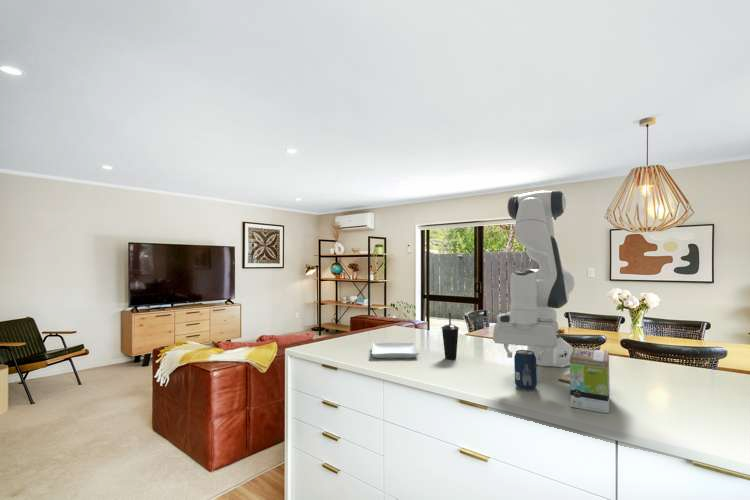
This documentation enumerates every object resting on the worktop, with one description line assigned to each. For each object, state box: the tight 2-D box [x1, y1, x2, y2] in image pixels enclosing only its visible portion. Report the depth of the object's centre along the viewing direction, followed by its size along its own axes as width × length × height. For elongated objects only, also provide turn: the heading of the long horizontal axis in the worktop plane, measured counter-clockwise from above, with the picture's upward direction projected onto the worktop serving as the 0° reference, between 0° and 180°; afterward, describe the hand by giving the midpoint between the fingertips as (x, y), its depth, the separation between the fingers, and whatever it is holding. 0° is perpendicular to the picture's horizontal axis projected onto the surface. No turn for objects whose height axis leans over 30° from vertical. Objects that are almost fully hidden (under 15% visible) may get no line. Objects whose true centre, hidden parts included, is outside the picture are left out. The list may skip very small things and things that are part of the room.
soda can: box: [513, 349, 538, 391], centre depth 128 cm, size 7×7×12 cm
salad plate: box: [371, 342, 420, 359], centre depth 177 cm, size 21×21×3 cm
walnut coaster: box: [557, 372, 570, 384], centre depth 134 cm, size 10×10×1 cm
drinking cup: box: [441, 312, 460, 361], centre depth 167 cm, size 8×8×20 cm
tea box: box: [569, 347, 611, 414], centre depth 114 cm, size 15×10×15 cm, turn 148°
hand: (524, 358), depth 127 cm, fingers open, 8 cm apart
